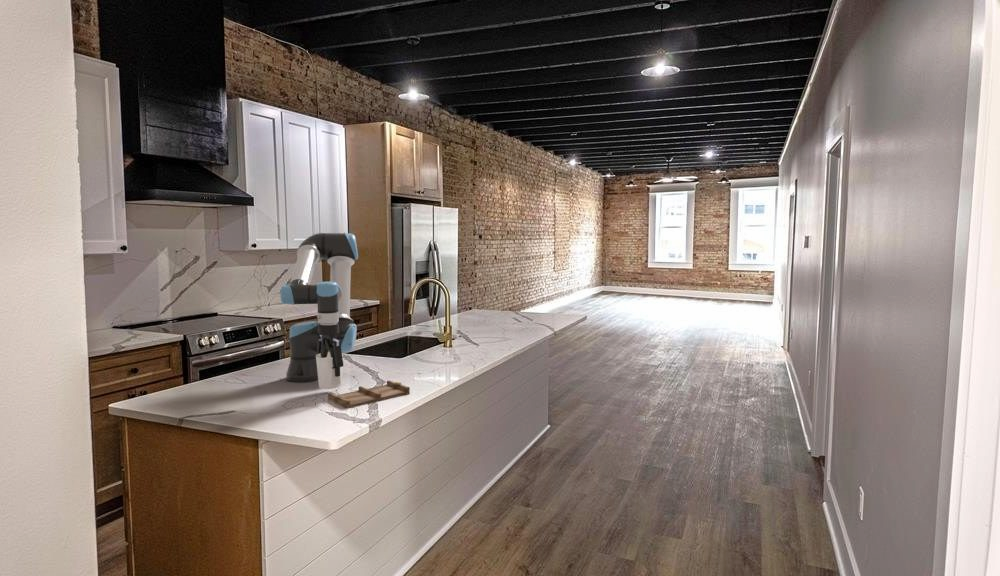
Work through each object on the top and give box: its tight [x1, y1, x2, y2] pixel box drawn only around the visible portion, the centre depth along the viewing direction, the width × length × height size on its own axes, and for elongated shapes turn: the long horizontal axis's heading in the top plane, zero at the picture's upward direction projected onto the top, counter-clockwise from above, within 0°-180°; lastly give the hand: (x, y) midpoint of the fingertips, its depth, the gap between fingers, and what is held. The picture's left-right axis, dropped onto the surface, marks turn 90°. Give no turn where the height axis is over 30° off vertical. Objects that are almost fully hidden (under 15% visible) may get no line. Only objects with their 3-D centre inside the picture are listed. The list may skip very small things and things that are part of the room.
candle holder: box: [316, 352, 344, 390], centre depth 214 cm, size 10×10×12 cm
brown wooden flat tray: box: [327, 380, 411, 409], centre depth 210 cm, size 14×27×3 cm, turn 134°
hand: (330, 381), depth 215 cm, fingers closed on candle holder, 9 cm apart
